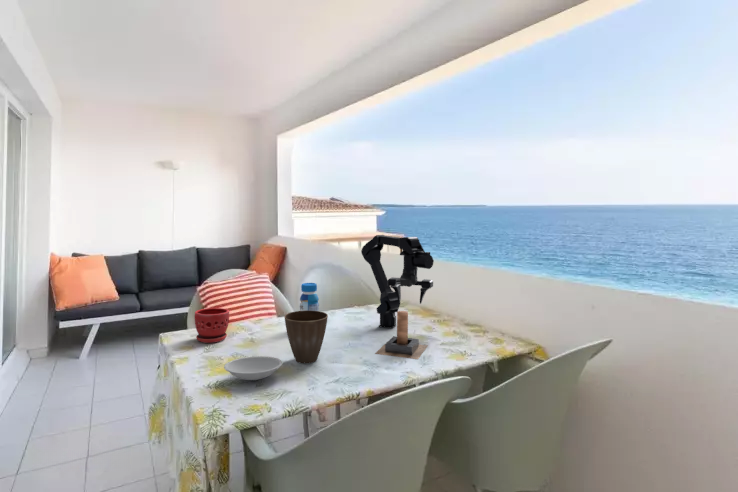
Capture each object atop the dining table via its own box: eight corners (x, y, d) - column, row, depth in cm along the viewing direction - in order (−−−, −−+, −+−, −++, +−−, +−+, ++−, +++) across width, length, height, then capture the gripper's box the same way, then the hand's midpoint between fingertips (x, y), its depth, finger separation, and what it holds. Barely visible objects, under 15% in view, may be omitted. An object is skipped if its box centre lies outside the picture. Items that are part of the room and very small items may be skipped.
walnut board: (374, 356, 154) (374, 353, 154) (388, 343, 169) (388, 340, 169) (417, 362, 148) (417, 359, 148) (428, 347, 163) (428, 345, 163)
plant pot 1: (218, 345, 165) (218, 315, 164) (188, 343, 168) (187, 313, 167) (235, 335, 178) (235, 307, 177) (207, 334, 181) (206, 306, 180)
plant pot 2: (329, 352, 158) (329, 310, 156) (326, 367, 143) (326, 320, 141) (288, 353, 157) (288, 310, 156) (281, 368, 142) (280, 321, 141)
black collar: (385, 352, 155) (385, 343, 155) (393, 343, 165) (393, 336, 164) (411, 355, 152) (411, 347, 152) (418, 346, 161) (418, 339, 161)
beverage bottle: (317, 331, 185) (317, 285, 183) (298, 331, 185) (297, 285, 183) (320, 325, 193) (319, 282, 191) (301, 325, 193) (301, 282, 191)
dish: (285, 370, 141) (285, 355, 140) (279, 388, 126) (278, 372, 126) (231, 371, 139) (230, 356, 139) (218, 390, 125) (217, 373, 125)
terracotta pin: (394, 349, 159) (394, 312, 157) (402, 346, 161) (402, 310, 160) (402, 351, 156) (402, 314, 154) (409, 349, 158) (410, 312, 157)
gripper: (383, 267, 176) (383, 305, 178) (427, 270, 170) (427, 308, 171) (391, 264, 187) (391, 299, 188) (433, 266, 180) (433, 303, 181)
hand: (409, 302), depth 182 cm, fingers open, 9 cm apart
